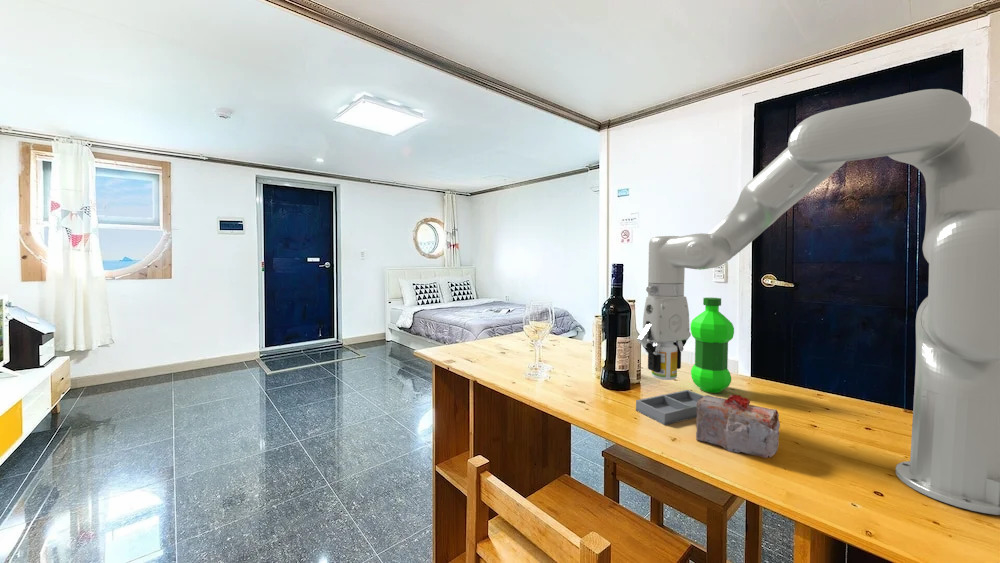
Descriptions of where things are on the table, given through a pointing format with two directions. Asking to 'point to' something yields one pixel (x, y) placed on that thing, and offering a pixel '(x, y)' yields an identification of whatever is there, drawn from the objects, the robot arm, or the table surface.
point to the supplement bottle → (667, 362)
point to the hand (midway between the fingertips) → (664, 368)
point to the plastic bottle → (711, 347)
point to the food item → (738, 425)
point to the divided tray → (670, 406)
